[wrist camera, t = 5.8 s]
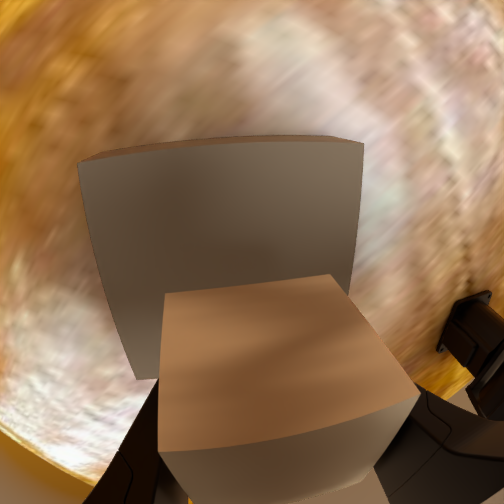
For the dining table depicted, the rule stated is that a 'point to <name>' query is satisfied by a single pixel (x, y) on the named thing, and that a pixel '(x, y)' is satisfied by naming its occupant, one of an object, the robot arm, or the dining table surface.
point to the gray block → (216, 221)
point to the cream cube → (274, 392)
